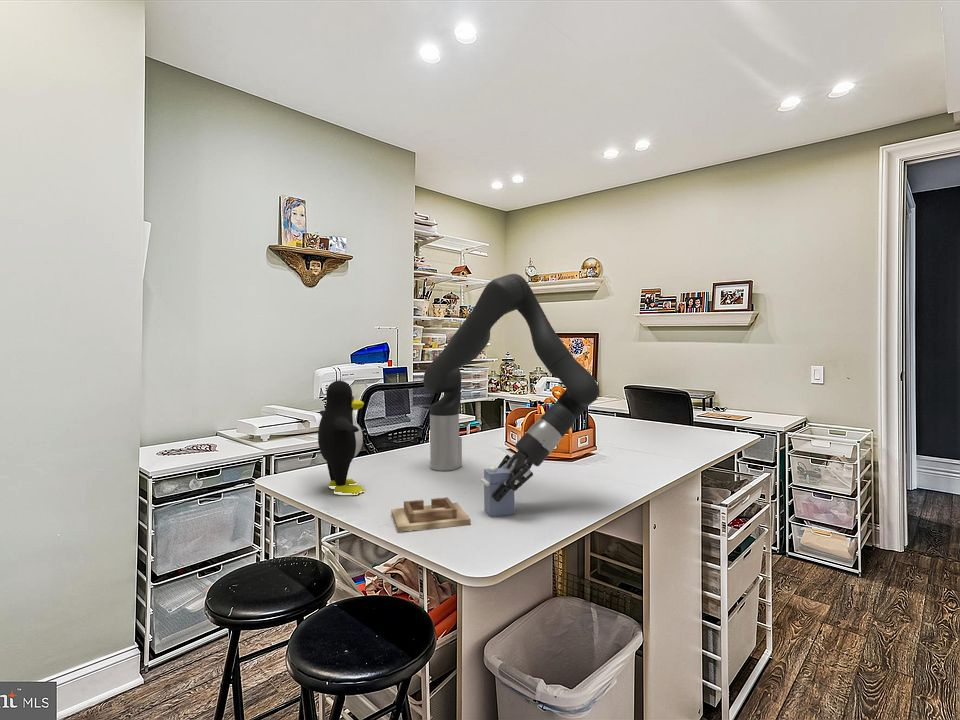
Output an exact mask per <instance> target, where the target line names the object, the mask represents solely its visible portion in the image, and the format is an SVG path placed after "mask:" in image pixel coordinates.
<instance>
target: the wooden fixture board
mask: <svg viewBox="0 0 960 720" xmlns="http://www.w3.org/2000/svg"><path fill="white" fill-rule="evenodd" d="M424 501H425V500H424V499H417V500H407V501H405V500H404V501H403V507H400V508H399V507H398V508H391V512H390V513H392V515H391V517H392V516H393V517H392V520H393V519H394V520H393V523H394V522H395V523H394V525H395V524H396V526H395V528H396V527H397V529H396V531H397V530H398V531H397V533H398V532H400V533H403V532H402V531H409V532H411V531H410V530H418V531H425V530H424V529H426V530H435V529H442V528H451V527H460V526H461V527H462V526H468V525H469V526H470V525H471V521H472V520H471V518H470V517H469V515H468V514H467V512H466V511H465V510H464V509H463V507H462V506H461V505H460V504H459V502H452V501H451V500H450V499H449V497H437V498H431V500H430V501H431V503H430V505H429V504H428V505H424V504H425V502H424Z"/></svg>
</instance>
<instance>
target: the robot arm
mask: <svg viewBox="0 0 960 720" xmlns="http://www.w3.org/2000/svg"><path fill="white" fill-rule="evenodd" d="M516 310H517V312H519V313H520V314H521V316H522V318H524V320H525V321H526V324H527V326H528V328H529V331H530V337H531V341H532V345H533V348H534V350H535V351H534V352H535V354H536V355H537V356H538V358H539V360H540V361H541V362H542V363H543V364H542V365H544V366H545V368H546V369H547V370H548V372H549V373H550V374H551V375H552V377H554V378H556V379H558V380H559V381H560V382H561V383H562V384H563V386H564V387H565V388H566V389H564V391H563V393H562V394H561V395H560V396H559V397H558V399H556V401H555V403H553V404H552V405H551V406H550V407H548V409H546V411H545V412H544V413H543V414H542V415H541V417H540V418H539V419H538V420H537V421H535V422H534V423H533V424H532V425H531V426H530V427H529V428H528V430H527V431H526V432H525V433H524V434H523V435H522V437H520V439H519V440H518V441H517V442H516V443H515V445H514V447H515V449H516V451H517V452H515V453H514V454H513V455H512V456H510V454H506V455H505V456H504V457H503V459H502V461H501V462H500V463H499V465H498V466H496V468H507V469H509V471H508V474H507V478H506V479H505V480H504V482H503V485H502V484H501V485H500V486H499V487H498V489H497V490H496V491H495V492H494V493H493V494H492V498H493V499H495V500H496V501H497V502H499V501H500V500H501V499H502V498H503V497H504V496H505V495H506V493H507V492H508V491H511V490H514V492H516V491H518V490H519V488H521V486H523V485H525V483H526V482H527V481H528V480H530V478H532V477H533V476H534V473H533V472H532V470H531V468H532V466H536V467H539V466H541V464H542V463H543V462H544V461H545V460H546V459H547V458H548V457H549V455H550V454H551V453H552V452H553V451H554V450H555V448H556V447H558V444H559V443H560V442H561V440H562V438H563V437H564V436H566V434H567V433H568V432H569V430H570V429H571V428H572V427H573V425H574V424H575V421H576V420H577V419H578V418H579V416H581V415H582V413H583V412H584V411H585V410H586V409H587V408H588V407H590V405H591V404H592V403H594V402H596V400H597V399H598V397H599V395H600V387H599V384H598V383H597V380H596V378H595V377H594V376H593V375H592V374H591V373H590V372H589V371H588V370H587V369H586V368H585V367H584V366H583V365H582V364H581V363H580V362H579V361H577V359H576V358H575V357H574V356H573V354H572V352H571V351H570V350H569V348H568V347H567V346H566V345H565V344H564V342H563V341H562V340H561V338H560V337H559V335H558V334H557V332H556V331H555V329H554V328H553V326H552V324H551V323H550V322H549V321H550V320H548V318H547V316H546V314H545V312H544V310H543V307H542V306H541V304H540V303H539V301H538V299H537V298H536V295H535V293H534V292H533V290H532V288H531V286H530V284H529V283H528V282H527V280H526V279H525V278H524V276H522V275H520V274H517V273H510V274H509V273H508V274H506V275H504V276H500V277H496V278H494V279H492V280H491V281H490V282H488V283H487V285H485V287H484V289H483V291H482V292H481V293H480V295H479V297H478V300H477V302H476V303H475V305H474V307H473V309H472V310H471V311H470V313H469V314H468V316H467V317H466V318H465V320H464V321H463V322H462V323H461V325H460V326H459V328H458V329H457V330H456V332H455V333H454V334H453V336H452V337H451V339H450V340H449V342H448V343H447V344H446V345H445V347H444V348H443V350H442V351H441V352H440V353H439V354H438V355H437V356H436V357H435V358H434V360H432V361H431V362H430V364H428V366H427V367H426V369H425V371H424V373H423V374H424V375H423V379H422V381H423V382H422V383H423V387H424V388H425V390H426V391H428V392H429V393H433V394H443V395H442V398H440V399H439V400H437V401H435V402H434V403H432V404H431V405H430V406H429V449H430V451H429V453H430V454H429V455H430V459H429V460H430V461H429V462H430V469H432V470H433V471H439V472H440V471H445V472H446V471H447V472H448V471H454V470H457V469H460V468H462V467H463V438H462V436H460V407H461V402H462V401H461V399H462V398H461V397H462V396H461V395H462V373H461V370H460V368H461V367H463V366H465V365H467V364H468V363H471V362H472V361H473V360H475V359H476V358H477V357H479V356H480V354H481V353H482V352H483V350H484V349H485V348H486V346H487V345H488V344H489V343H490V342H489V341H490V339H491V329H492V328H493V327H494V326H495V324H497V322H498V321H499V320H500V319H501V318H502V317H503V316H505V315H507V314H509V313H511V312H513V311H516ZM512 472H513V473H514V475H513V474H512ZM510 478H511V479H510Z"/></svg>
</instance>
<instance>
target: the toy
mask: <svg viewBox="0 0 960 720" xmlns="http://www.w3.org/2000/svg"><path fill="white" fill-rule="evenodd" d="M325 394H326V395H325V396H326V401H325V403H326V404H325V408H324V410H320V411H319V414H320V416H321V418H320V421H319V425H318V430H317V431H318V434H317V443H318V444H317V445H318V448H319V452H320V454H321V456H322V458H323V459H324V460H325V461H326V466H327V469H328V470H327V471H328V474H329V479H330V482H329V484H328V485H329V486H336V487H335V489H333V491H335V492H342V493H352V494H354V493H355V494H357V493H359V492H360V491H364V490H365V489H364V488H363V487H362V485H360V484H357V485H349V484H355V483H357V482H356V481H354V479H353V478H348V473H349V469H350V466H351V463H352V462H353V460H354V458H356V456H357V455H358V454H359V453H360V451H361V449H362V447H363V443H364V441H363V440H364V438H363V437H364V435H363V431H362V428H361V426H360V425H359V423H357V419H356V416H355V414H354V411H355V410H356V411H357V410H360V409H362V408H363V407H364V405H365V403H364V401H362V400H359V399H357V398H356V399H355V397H354V395H353V390H352V387H351V386H350V385H349V383H347V382H346V381H344V380H334V381H333V382H331V383H330V384H329V385H328V387H327V389H326V393H325Z"/></svg>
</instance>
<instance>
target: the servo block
mask: <svg viewBox="0 0 960 720" xmlns="http://www.w3.org/2000/svg"><path fill="white" fill-rule="evenodd" d="M508 471H509V469H507V468H497V465H496V466H495V465H491V466H490V465H489V468H484V469H483V477H481V478H479V479H480V482H481V483H482V484H483V492H484V494H483V496H484V497H483V501H484V502H483V505H484V512H485V513H486V514H487V515H488V517H490V518H492V517H493V518H494V517H500V516H510V515H515V491H514V490H511V491H508V492H507V493H506V495H505V496H504V497H503V498H502V499H501V500H500V501H499V502H497V501H496V500H495V499H493V498H492V494H493V493H494V492H495V491H496V490H497V489H498V487H499V486H500V485H501V484H502V485H503V482H504V480H505V479H506V478H507V474H508ZM512 474H513V475H514V473H513V472H512ZM510 479H511V478H510Z"/></svg>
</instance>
